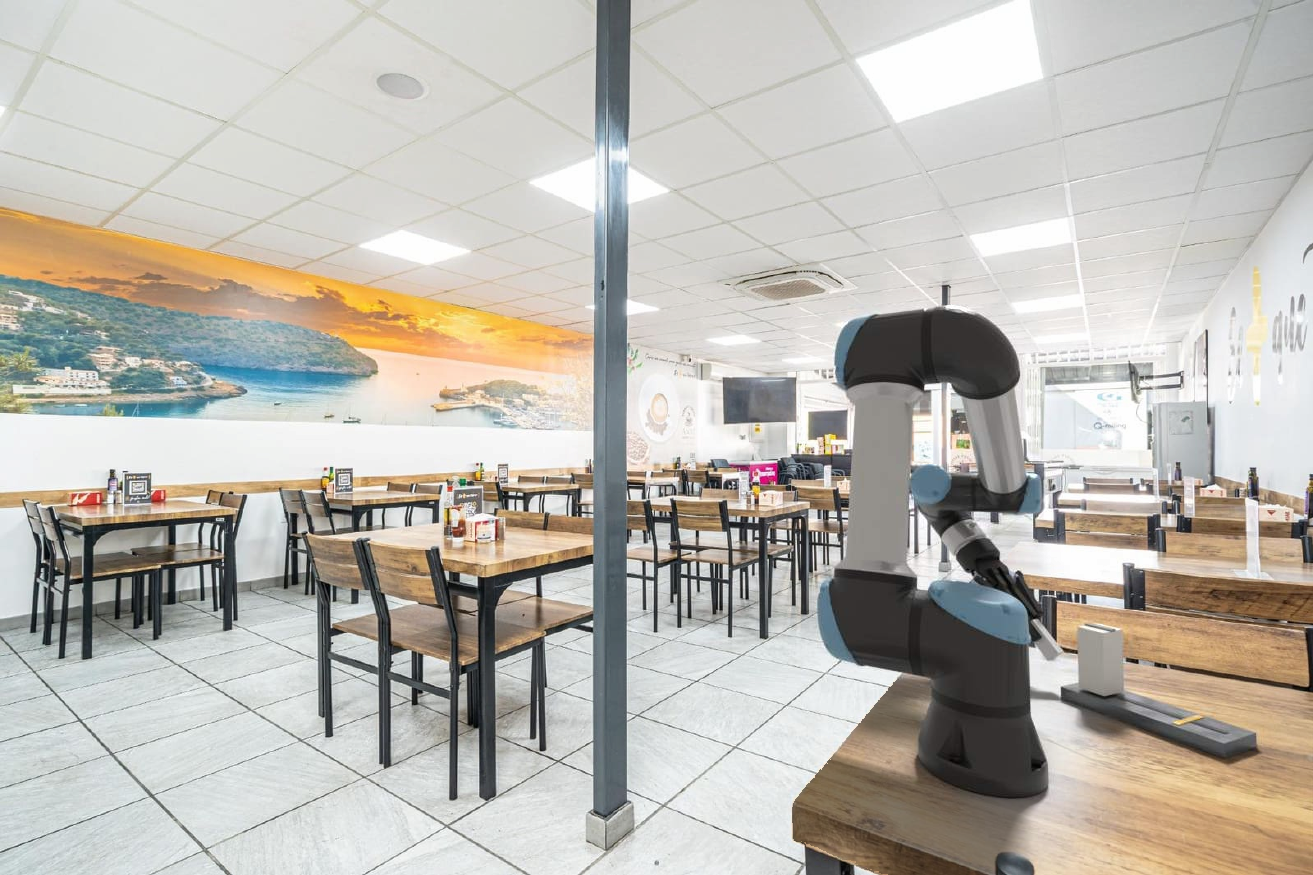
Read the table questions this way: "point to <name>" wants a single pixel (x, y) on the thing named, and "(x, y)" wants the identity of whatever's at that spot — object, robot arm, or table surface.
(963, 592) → the robot arm
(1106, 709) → the grey slotted track base
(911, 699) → the table surface
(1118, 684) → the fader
